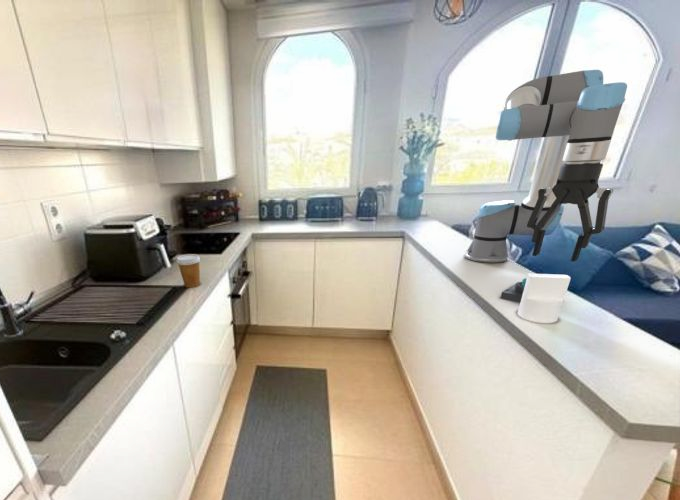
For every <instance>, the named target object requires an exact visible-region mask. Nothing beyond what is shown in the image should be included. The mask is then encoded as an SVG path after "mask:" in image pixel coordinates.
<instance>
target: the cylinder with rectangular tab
mask: <svg viewBox="0 0 680 500" xmlns="http://www.w3.org/2000/svg"><path fill="white" fill-rule="evenodd" d="M526 276H527V277H526V278H527V280H526V284H525V287H524V291H523V295H522V299H521V302H520V303H519V306H518V310H517V315H518V316H519V317H520V318H522V319H524V320H527V321H530V322H534V323H540V324H551V323H552V324H553V323H556V322H557V321H558V320H559V316H560V313H561V310H562V307H563V304H564V301H565V297H566V294H567V291H568V288H569V285H570V282H571V279H572V278H571V276H570V275H568V274H559V273H557V274H553V273H527V275H526Z"/></svg>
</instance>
